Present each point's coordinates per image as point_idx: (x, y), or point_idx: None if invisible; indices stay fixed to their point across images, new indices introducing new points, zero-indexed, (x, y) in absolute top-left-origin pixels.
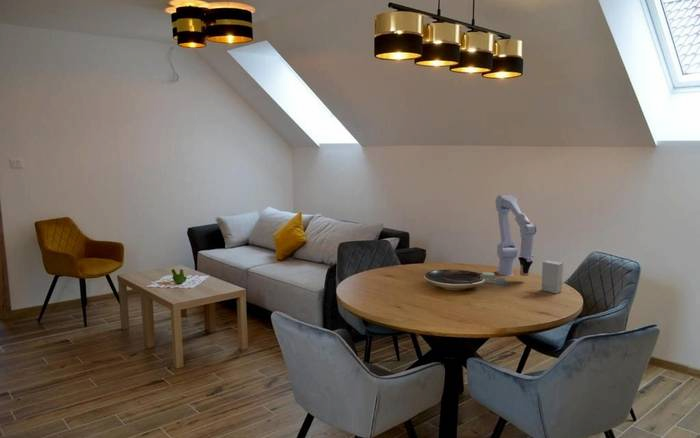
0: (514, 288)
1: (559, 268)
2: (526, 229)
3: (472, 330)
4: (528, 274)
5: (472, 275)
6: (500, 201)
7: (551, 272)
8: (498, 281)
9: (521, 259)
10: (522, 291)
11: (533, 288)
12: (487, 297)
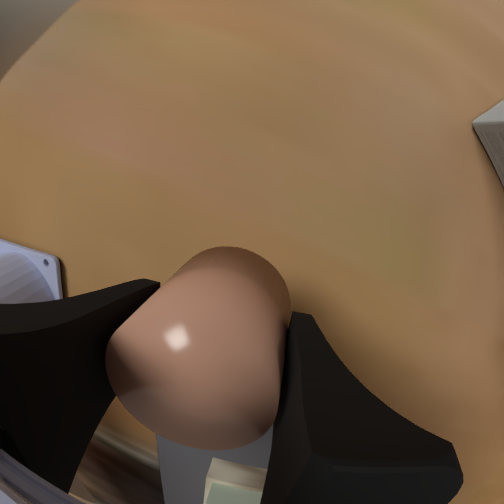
0: (422, 406)
1: None
2: None
3: None
4: (260, 262)
5: (121, 469)
6: None
7: None
8: (259, 453)
9: (58, 462)
10: (494, 376)
11: (459, 259)
12: (481, 500)
